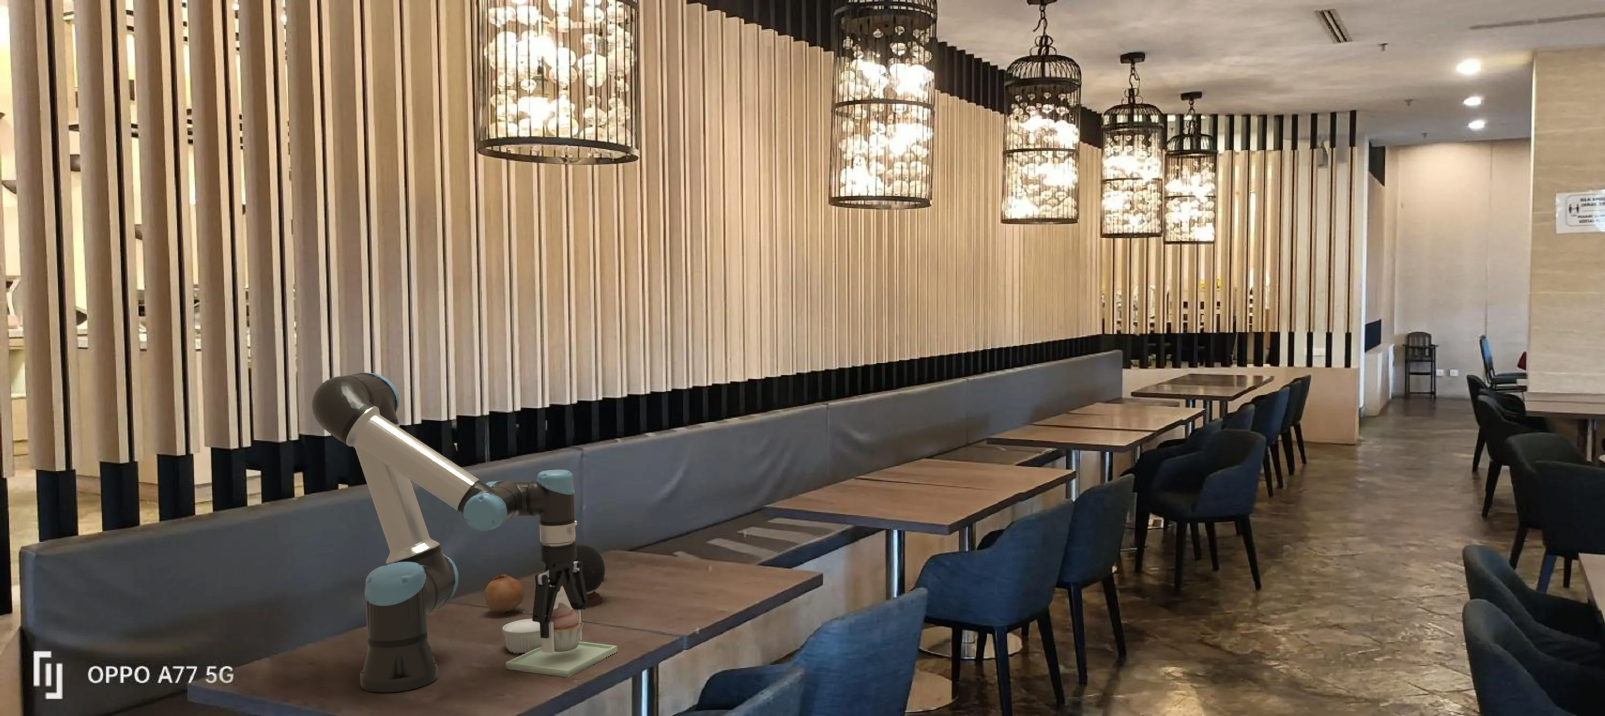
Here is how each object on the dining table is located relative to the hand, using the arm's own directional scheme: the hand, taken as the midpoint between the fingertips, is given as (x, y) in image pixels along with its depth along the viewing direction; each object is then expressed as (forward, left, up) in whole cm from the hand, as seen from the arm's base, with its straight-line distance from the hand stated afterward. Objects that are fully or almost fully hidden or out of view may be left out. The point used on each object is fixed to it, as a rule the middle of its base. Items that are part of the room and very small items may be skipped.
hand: (562, 645), depth 246 cm
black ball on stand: (+41, +25, -4) cm, 48 cm away
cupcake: (0, 0, -1) cm, 1 cm away
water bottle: (+21, +15, -4) cm, 26 cm away
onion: (+26, +37, -4) cm, 45 cm away
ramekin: (+5, +13, -4) cm, 14 cm away
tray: (0, 0, -3) cm, 3 cm away
